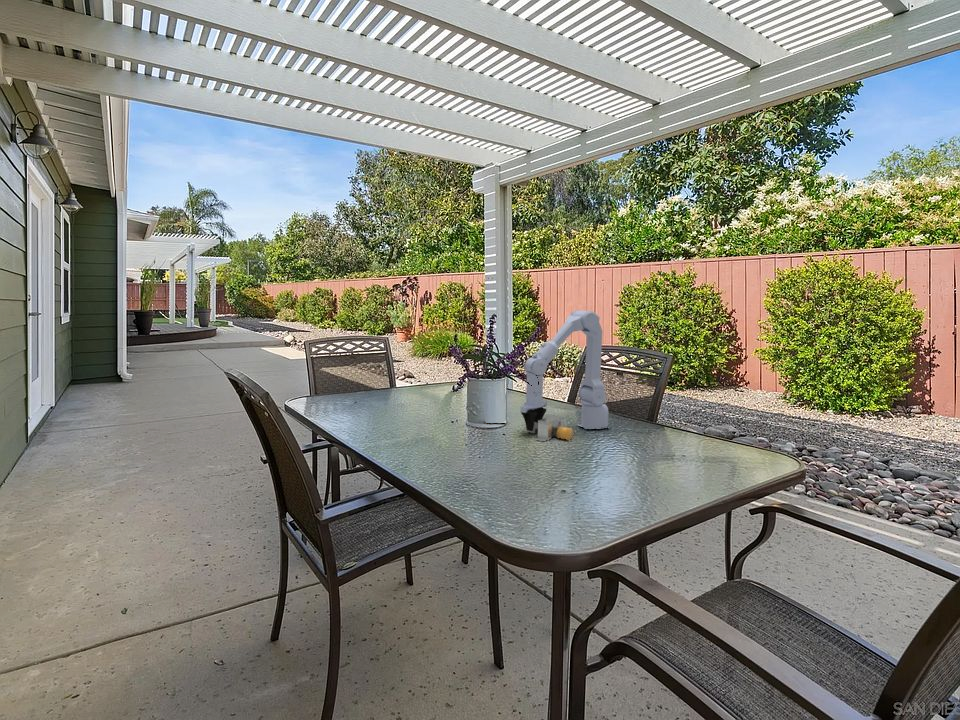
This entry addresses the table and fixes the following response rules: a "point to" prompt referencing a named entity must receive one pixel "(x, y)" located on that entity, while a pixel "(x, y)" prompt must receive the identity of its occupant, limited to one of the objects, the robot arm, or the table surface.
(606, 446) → the table surface
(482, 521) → the table surface
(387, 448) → the table surface
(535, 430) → the plug
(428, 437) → the table surface
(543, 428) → the housing
